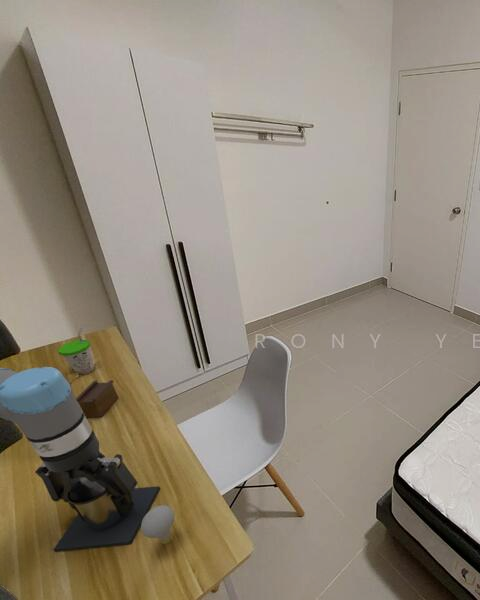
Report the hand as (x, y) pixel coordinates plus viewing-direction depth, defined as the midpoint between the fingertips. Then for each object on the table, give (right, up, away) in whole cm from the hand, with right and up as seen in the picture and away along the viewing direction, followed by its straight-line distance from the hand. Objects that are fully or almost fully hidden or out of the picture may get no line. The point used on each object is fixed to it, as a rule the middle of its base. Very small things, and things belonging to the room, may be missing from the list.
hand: (109, 512), depth 72 cm
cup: (-45, +22, +41) cm, 64 cm away
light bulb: (+15, -5, -2) cm, 15 cm away
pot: (0, +4, -2) cm, 5 cm away
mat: (0, -2, +1) cm, 2 cm away
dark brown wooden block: (-26, +14, +27) cm, 41 cm away
